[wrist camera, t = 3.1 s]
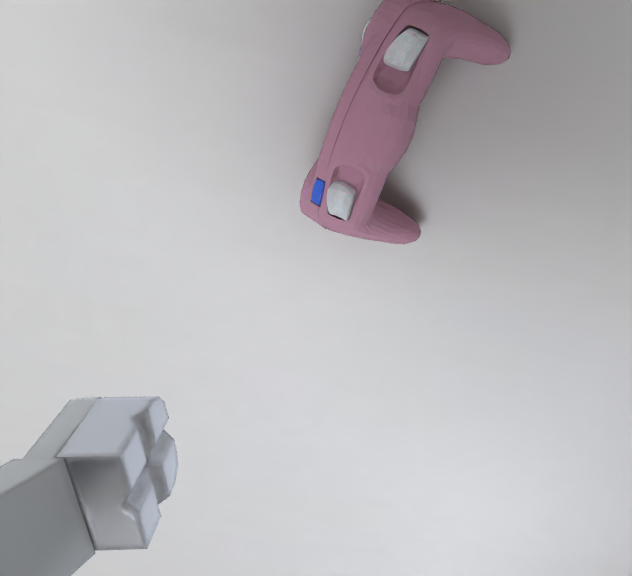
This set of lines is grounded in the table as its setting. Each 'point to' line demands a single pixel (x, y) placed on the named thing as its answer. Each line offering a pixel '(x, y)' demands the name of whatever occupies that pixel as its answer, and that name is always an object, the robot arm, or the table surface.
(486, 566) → the table surface
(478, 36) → the video game controller
